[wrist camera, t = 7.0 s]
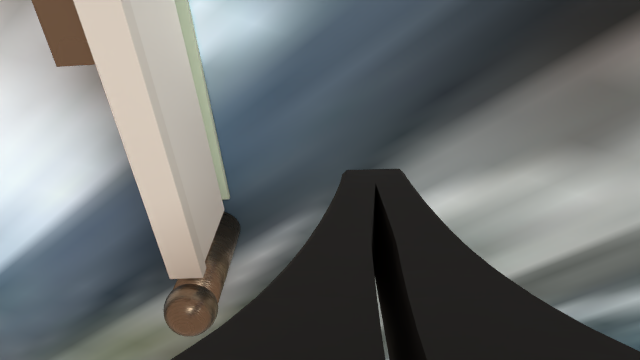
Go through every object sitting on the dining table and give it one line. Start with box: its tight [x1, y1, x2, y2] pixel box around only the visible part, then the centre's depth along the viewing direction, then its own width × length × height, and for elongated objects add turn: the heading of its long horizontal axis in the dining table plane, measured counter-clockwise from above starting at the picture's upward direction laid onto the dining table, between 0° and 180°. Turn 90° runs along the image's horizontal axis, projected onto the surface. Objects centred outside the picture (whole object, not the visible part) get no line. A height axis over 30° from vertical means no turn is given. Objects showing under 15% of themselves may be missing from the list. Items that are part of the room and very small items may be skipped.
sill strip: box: [174, 0, 230, 200], centre depth 20 cm, size 2×11×1 cm, turn 4°
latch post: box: [32, 0, 95, 67], centre depth 16 cm, size 2×2×5 cm, turn 4°
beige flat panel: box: [73, 0, 224, 279], centre depth 18 cm, size 12×1×5 cm, turn 5°
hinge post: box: [164, 212, 240, 336], centre depth 21 cm, size 2×2×7 cm
